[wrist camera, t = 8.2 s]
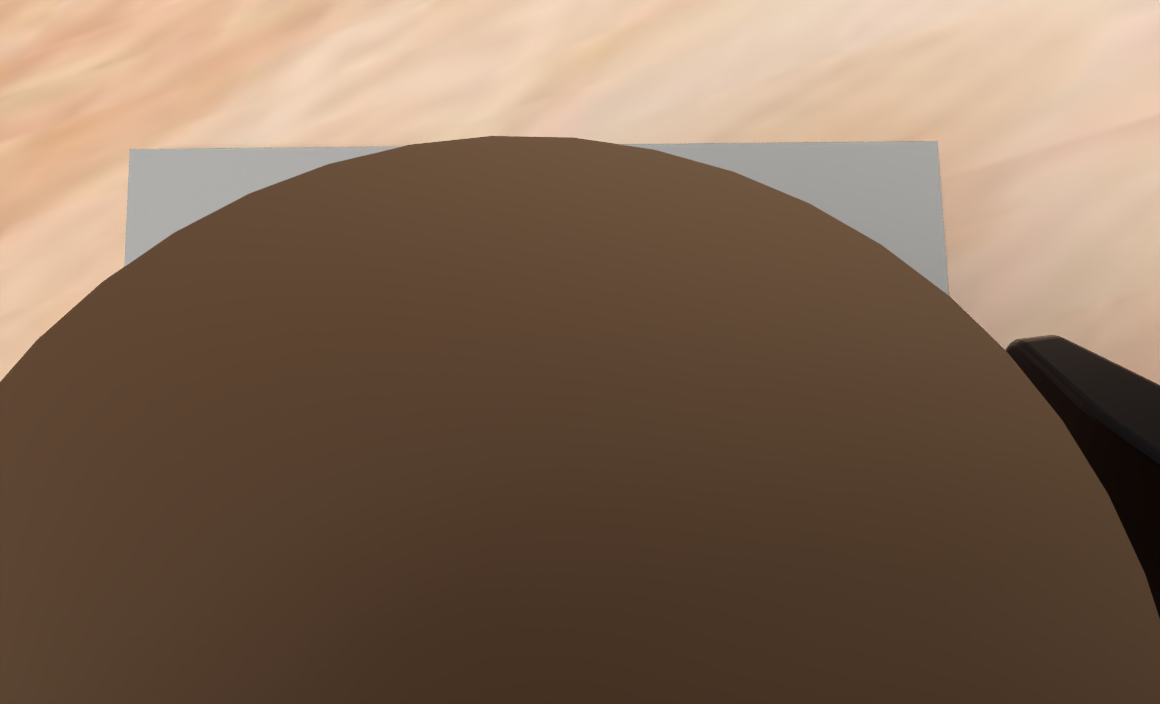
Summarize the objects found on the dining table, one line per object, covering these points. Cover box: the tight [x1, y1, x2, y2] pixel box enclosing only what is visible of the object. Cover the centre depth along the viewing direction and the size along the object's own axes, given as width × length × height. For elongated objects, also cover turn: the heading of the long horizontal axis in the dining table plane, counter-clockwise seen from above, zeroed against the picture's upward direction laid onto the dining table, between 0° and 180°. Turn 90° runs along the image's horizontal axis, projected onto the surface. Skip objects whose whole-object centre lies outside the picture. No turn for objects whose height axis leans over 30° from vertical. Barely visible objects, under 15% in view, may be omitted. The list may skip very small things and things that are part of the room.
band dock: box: [124, 141, 949, 295], centre depth 17 cm, size 14×14×4 cm
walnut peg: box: [0, 136, 1160, 704], centre depth 10 cm, size 4×4×14 cm
